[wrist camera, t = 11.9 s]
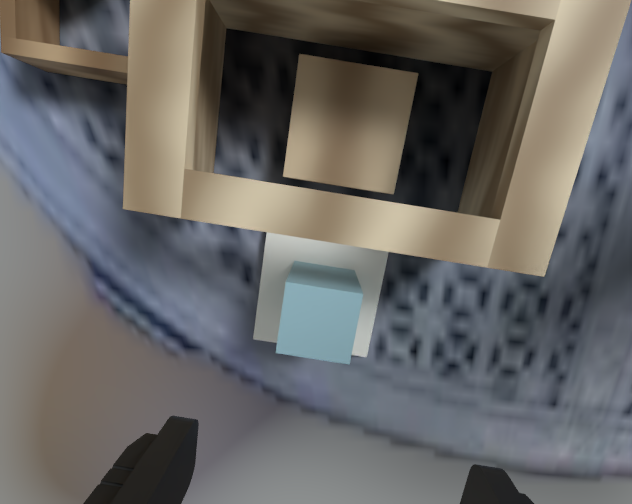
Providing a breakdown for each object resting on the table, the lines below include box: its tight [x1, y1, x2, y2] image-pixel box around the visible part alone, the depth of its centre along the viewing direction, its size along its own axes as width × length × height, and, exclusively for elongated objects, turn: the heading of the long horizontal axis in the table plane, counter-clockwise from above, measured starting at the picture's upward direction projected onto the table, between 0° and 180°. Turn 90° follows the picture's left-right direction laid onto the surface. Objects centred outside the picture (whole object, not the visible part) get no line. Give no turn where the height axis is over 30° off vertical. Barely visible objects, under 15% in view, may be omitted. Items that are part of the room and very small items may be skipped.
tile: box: [253, 232, 389, 357], centre depth 27 cm, size 10×10×1 cm
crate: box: [123, 0, 631, 277], centre depth 20 cm, size 22×14×10 cm, turn 81°
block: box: [276, 261, 363, 365], centre depth 24 cm, size 5×5×6 cm
